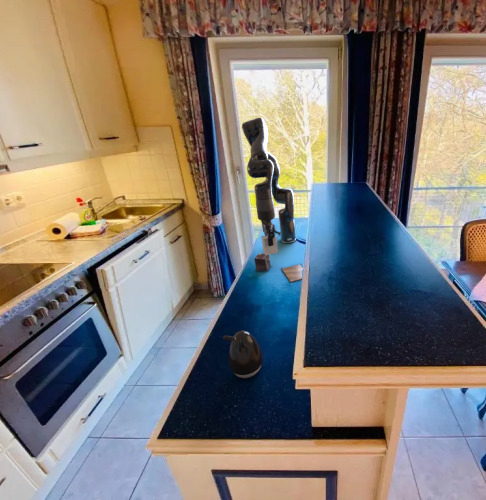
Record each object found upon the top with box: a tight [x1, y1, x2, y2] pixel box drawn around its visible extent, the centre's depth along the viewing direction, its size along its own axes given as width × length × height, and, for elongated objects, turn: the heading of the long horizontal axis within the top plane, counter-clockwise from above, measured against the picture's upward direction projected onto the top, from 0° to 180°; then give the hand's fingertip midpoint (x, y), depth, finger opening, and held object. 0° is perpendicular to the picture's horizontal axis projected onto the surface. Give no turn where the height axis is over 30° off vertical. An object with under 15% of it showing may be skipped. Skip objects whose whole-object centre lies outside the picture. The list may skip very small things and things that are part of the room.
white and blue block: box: [261, 232, 279, 256], centre depth 128 cm, size 6×4×9 cm, turn 114°
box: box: [253, 253, 272, 272], centre depth 144 cm, size 6×6×7 cm
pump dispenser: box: [223, 329, 264, 379], centre depth 85 cm, size 10×10×15 cm
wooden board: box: [281, 263, 304, 283], centre depth 141 cm, size 14×10×1 cm
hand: (269, 243), depth 128 cm, fingers closed on white and blue block, 4 cm apart
